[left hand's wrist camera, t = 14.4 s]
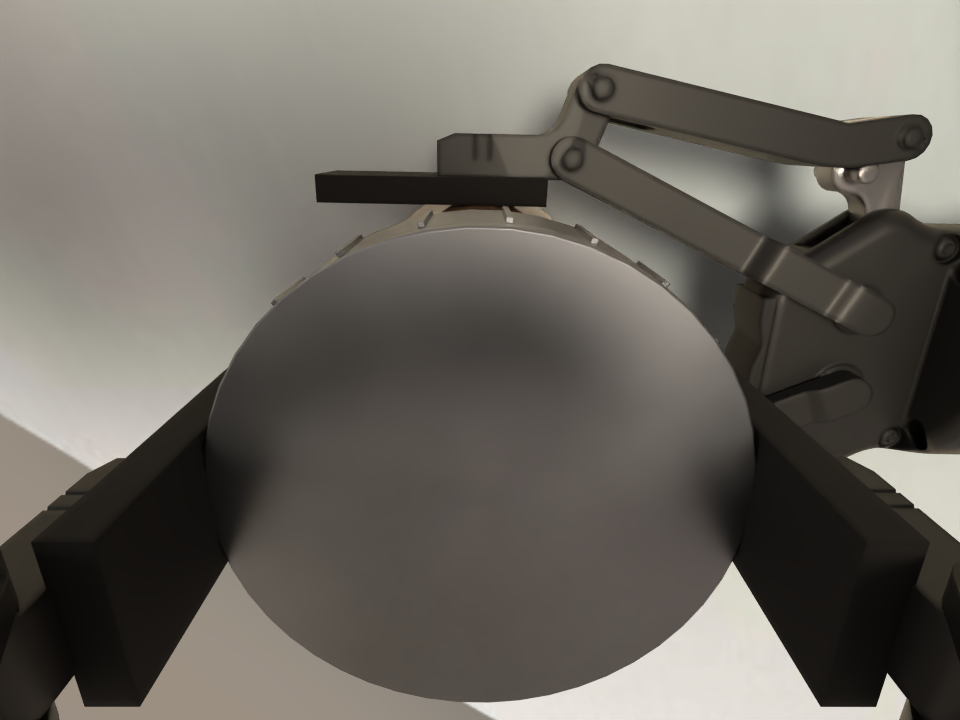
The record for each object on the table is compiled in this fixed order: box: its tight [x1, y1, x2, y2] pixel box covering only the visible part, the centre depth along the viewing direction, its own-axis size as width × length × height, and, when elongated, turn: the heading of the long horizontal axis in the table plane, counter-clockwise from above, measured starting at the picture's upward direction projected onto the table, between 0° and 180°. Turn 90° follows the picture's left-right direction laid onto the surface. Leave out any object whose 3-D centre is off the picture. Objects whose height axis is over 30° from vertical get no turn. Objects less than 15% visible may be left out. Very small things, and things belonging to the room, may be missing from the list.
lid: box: [205, 206, 756, 702], centre depth 11 cm, size 10×10×2 cm
